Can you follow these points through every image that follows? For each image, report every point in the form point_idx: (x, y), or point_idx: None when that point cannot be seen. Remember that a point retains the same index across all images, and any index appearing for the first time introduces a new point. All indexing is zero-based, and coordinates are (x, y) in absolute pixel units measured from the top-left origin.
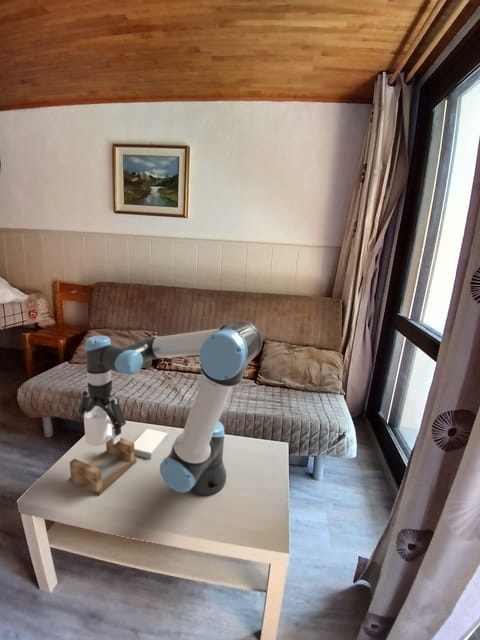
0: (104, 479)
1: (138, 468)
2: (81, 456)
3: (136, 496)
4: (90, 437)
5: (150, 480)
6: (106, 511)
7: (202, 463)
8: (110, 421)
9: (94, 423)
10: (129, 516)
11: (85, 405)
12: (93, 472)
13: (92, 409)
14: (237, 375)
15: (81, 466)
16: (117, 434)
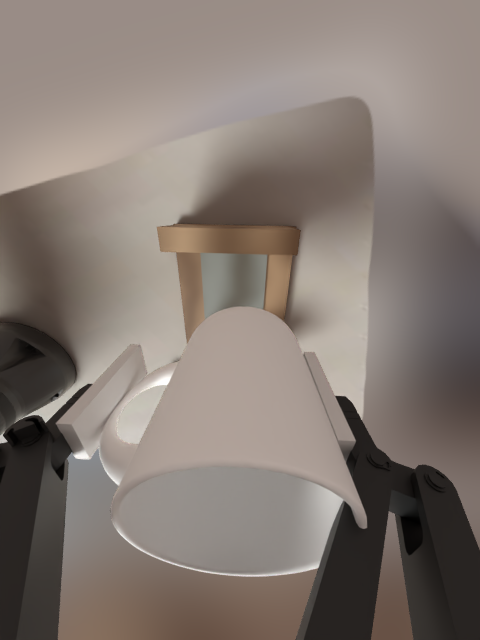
0: (201, 268)
1: (169, 334)
2: (331, 312)
3: (98, 263)
4: (230, 326)
5: (116, 316)
6: (114, 186)
7: None
8: (107, 464)
9: (169, 417)
10: (54, 202)
11: (426, 598)
12: (170, 227)
13: (329, 533)
14: None
15: (237, 232)
16: (85, 388)
